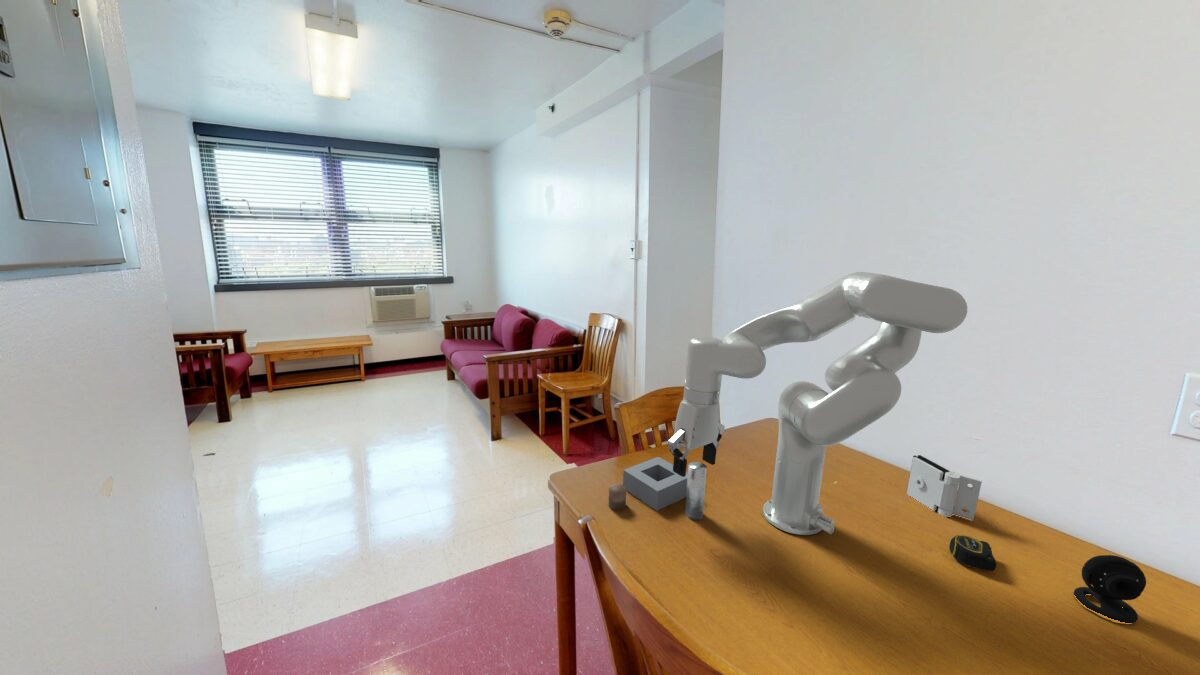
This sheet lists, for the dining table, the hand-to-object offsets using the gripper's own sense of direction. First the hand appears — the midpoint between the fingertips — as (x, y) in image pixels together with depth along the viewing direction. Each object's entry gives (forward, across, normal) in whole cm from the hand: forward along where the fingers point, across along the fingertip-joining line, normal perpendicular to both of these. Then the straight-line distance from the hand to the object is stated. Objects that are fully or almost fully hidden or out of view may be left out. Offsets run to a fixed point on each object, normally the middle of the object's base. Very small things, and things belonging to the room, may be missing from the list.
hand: (694, 467), depth 100 cm
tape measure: (+10, -34, +44) cm, 56 cm away
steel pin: (+12, -1, +1) cm, 12 cm away
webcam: (+10, -38, +61) cm, 72 cm away
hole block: (+12, -1, -11) cm, 16 cm away
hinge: (+10, -51, +33) cm, 61 cm away
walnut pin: (+12, +11, -12) cm, 21 cm away
